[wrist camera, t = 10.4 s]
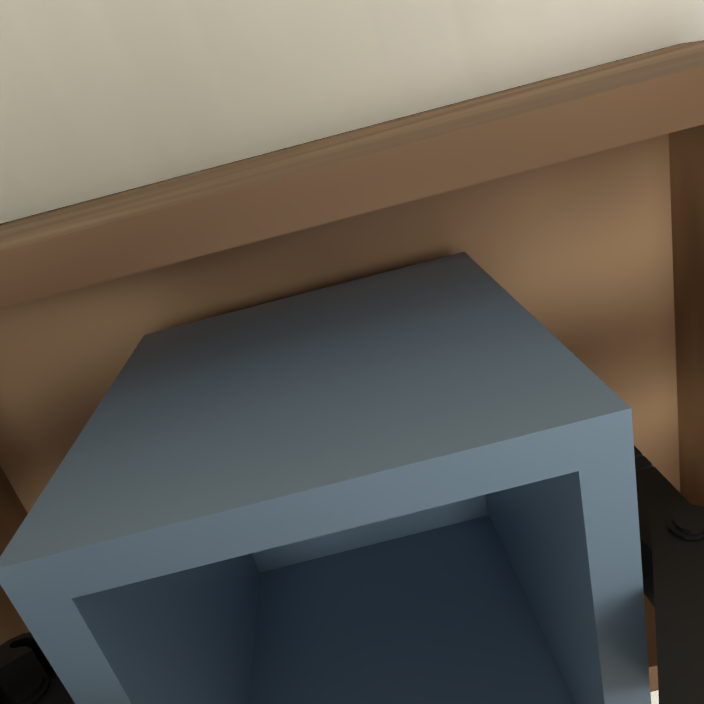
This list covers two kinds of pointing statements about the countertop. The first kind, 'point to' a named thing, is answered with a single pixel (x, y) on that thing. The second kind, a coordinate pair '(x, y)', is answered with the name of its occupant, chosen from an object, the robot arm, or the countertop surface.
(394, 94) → the countertop surface
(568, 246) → the walnut crate
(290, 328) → the slate crate
